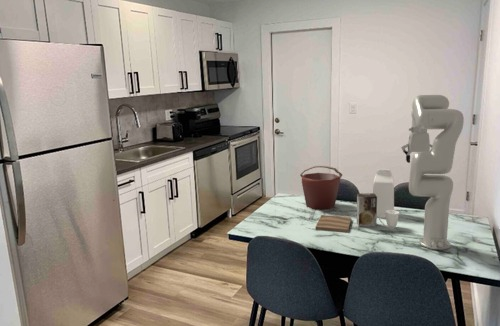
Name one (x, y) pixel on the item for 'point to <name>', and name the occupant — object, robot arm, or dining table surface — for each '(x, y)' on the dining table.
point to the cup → (391, 218)
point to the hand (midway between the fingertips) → (417, 162)
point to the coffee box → (366, 210)
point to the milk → (384, 191)
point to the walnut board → (333, 223)
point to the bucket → (320, 189)
